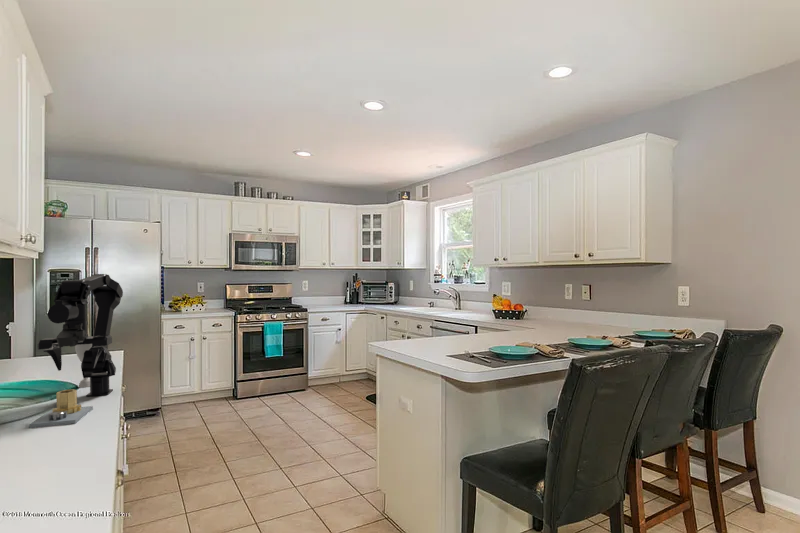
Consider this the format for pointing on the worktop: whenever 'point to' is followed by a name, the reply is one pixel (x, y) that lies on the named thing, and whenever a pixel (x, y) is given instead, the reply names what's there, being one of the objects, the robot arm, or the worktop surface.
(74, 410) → the planet gear
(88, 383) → the chalice
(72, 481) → the worktop surface
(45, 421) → the plate
